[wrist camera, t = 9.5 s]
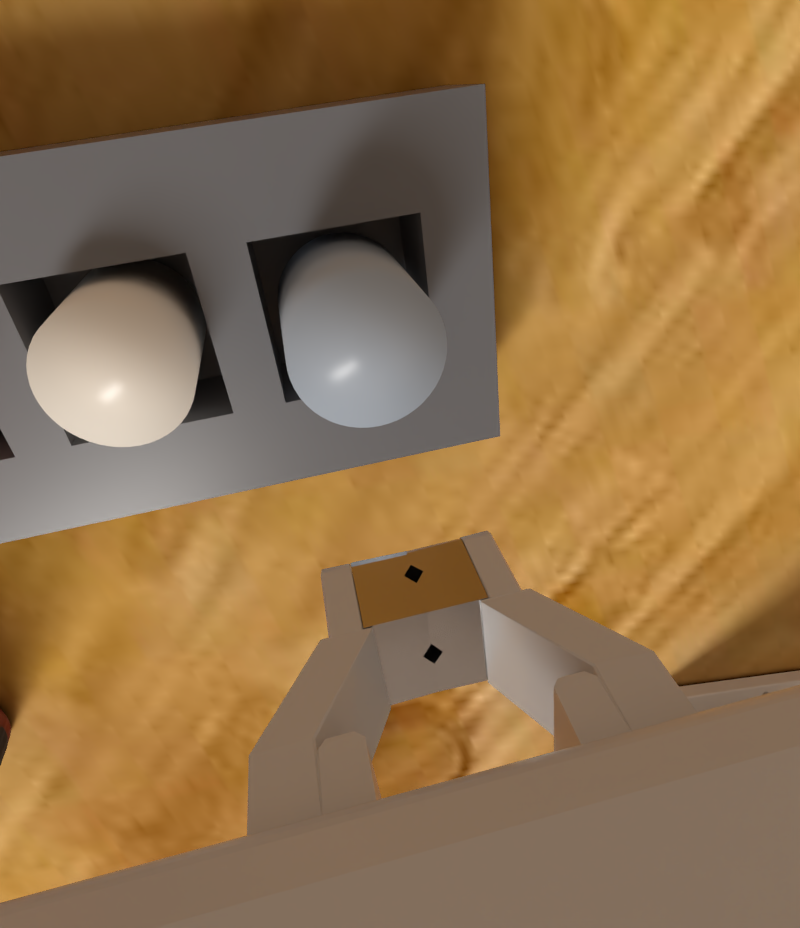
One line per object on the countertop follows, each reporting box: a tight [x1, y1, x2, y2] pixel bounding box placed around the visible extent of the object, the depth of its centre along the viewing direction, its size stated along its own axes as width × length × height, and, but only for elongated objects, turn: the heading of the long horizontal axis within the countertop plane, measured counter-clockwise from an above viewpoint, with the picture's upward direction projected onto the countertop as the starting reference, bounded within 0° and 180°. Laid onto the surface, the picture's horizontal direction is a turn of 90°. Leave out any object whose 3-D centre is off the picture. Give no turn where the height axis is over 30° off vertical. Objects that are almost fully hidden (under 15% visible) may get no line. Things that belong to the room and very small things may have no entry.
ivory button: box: [26, 259, 206, 447], centre depth 23 cm, size 5×5×6 cm
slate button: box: [278, 232, 447, 428], centre depth 22 cm, size 5×5×6 cm
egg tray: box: [0, 84, 500, 543], centre depth 24 cm, size 27×13×4 cm, turn 97°
